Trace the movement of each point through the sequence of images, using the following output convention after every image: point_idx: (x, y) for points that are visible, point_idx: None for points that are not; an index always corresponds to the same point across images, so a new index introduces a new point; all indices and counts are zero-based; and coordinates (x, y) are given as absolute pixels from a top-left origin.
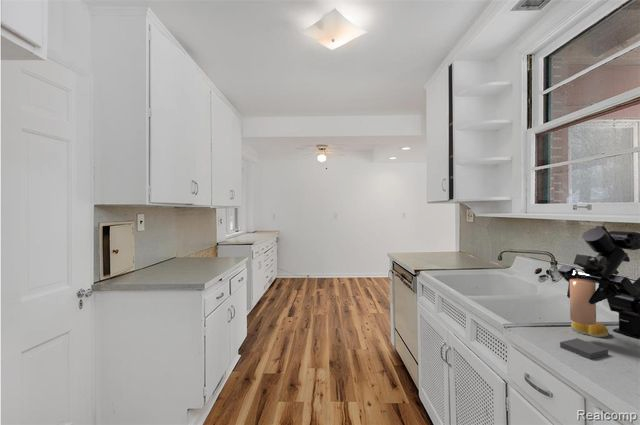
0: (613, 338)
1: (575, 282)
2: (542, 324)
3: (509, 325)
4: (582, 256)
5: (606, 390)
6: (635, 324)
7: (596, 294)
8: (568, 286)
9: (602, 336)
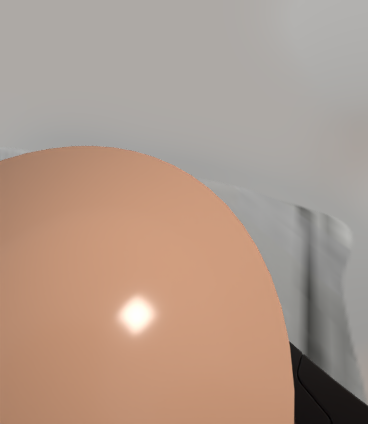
0: None
1: (75, 152)
2: (328, 347)
3: (316, 219)
4: None
5: (18, 152)
6: None
7: None
8: (299, 350)
9: None
